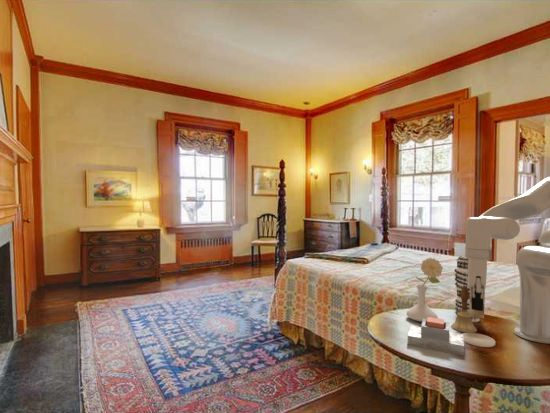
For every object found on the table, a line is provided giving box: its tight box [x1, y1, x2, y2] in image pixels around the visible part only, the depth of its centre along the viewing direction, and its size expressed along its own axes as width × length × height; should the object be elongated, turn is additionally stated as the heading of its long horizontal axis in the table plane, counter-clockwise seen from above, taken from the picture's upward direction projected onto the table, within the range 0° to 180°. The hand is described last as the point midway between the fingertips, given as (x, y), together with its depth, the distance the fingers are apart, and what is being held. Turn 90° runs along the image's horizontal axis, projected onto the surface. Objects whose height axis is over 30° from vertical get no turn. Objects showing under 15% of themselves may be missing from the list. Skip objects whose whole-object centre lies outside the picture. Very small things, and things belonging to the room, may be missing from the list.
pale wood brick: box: [469, 286, 486, 319], centre depth 110 cm, size 4×4×10 cm
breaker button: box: [427, 317, 445, 329], centre depth 107 cm, size 5×5×4 cm
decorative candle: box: [454, 255, 480, 323], centre depth 132 cm, size 9×9×25 cm
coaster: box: [461, 332, 496, 348], centre depth 110 cm, size 10×10×1 cm
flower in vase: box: [406, 257, 444, 323], centre depth 129 cm, size 13×11×25 cm
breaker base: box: [407, 319, 465, 356], centre depth 107 cm, size 16×10×6 cm, turn 61°
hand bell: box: [450, 286, 478, 333], centre depth 121 cm, size 8×8×16 cm
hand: (476, 307), depth 110 cm, fingers closed on pale wood brick, 4 cm apart
